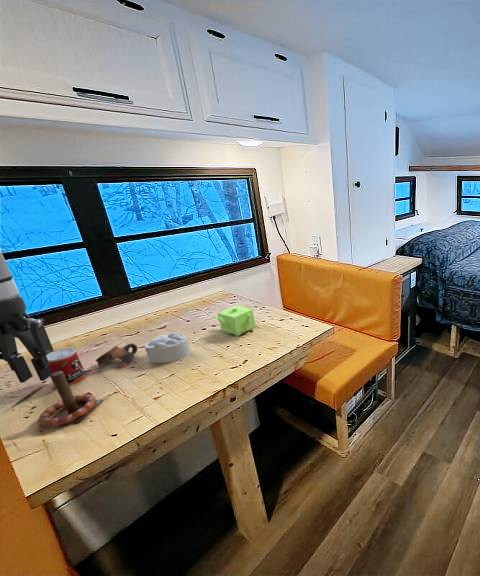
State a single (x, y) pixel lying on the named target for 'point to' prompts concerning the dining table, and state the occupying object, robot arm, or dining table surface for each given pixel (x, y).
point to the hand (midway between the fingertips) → (36, 378)
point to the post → (68, 398)
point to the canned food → (67, 365)
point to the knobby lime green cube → (236, 320)
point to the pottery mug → (119, 355)
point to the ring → (47, 422)
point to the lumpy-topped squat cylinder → (168, 348)
